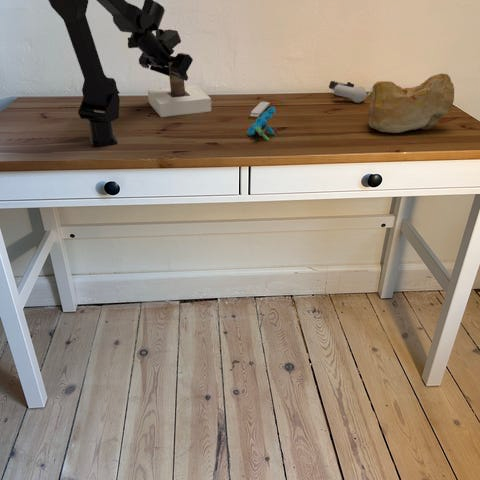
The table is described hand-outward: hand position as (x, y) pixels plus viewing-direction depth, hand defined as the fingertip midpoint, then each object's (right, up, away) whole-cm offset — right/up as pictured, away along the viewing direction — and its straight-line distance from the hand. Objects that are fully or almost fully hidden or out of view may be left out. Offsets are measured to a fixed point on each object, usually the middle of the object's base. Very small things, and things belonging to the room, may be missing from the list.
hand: (180, 77), depth 145 cm
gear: (+24, -22, -17) cm, 37 cm away
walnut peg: (-1, -8, +4) cm, 9 cm away
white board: (-1, -8, +4) cm, 9 cm away
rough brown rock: (+65, -17, -9) cm, 68 cm away
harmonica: (+25, -11, 0) cm, 27 cm away
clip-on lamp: (+58, -3, +12) cm, 59 cm away
